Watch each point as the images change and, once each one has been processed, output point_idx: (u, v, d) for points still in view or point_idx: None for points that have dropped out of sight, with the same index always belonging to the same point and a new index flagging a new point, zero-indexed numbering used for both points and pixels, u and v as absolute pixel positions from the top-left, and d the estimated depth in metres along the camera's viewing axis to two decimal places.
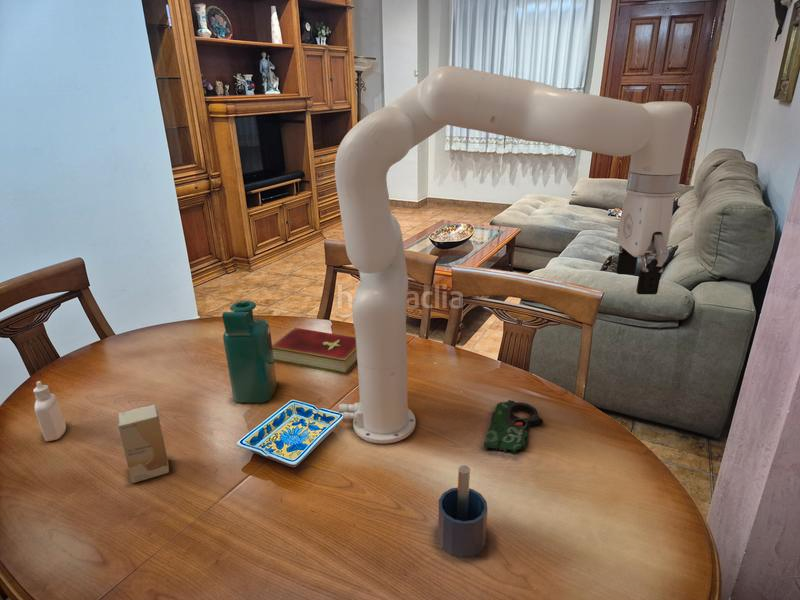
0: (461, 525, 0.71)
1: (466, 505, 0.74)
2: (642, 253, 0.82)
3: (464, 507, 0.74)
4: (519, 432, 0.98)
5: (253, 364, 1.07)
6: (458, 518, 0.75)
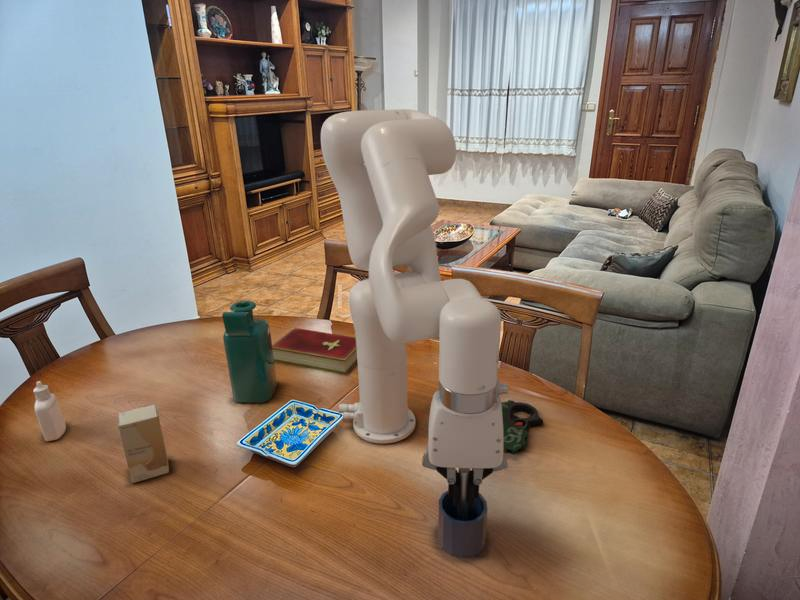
0: (461, 525, 0.71)
1: (466, 505, 0.74)
2: None
3: (464, 507, 0.74)
4: (519, 432, 0.98)
5: (253, 364, 1.07)
6: (458, 518, 0.75)
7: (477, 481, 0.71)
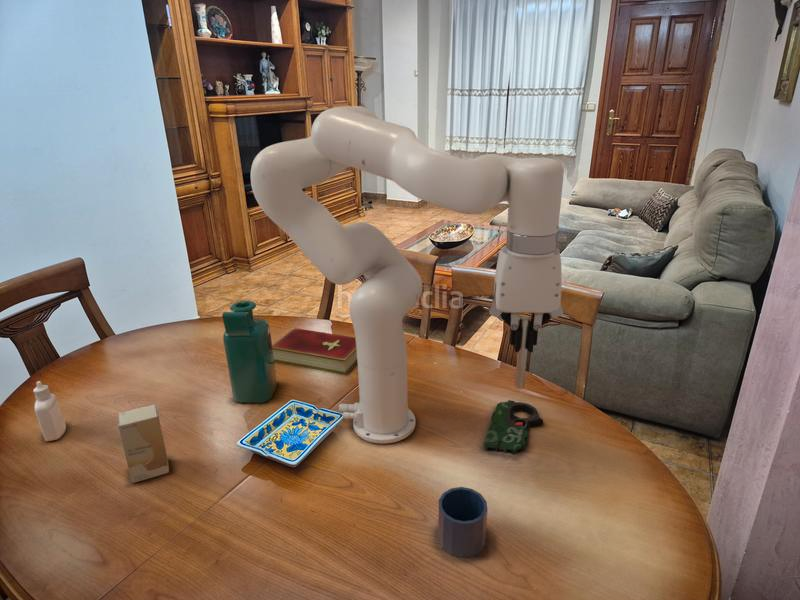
0: (461, 525, 0.71)
1: (525, 352, 0.85)
2: None
3: (524, 354, 0.85)
4: (519, 432, 0.98)
5: (253, 364, 1.07)
6: (518, 366, 0.86)
7: (536, 327, 0.82)
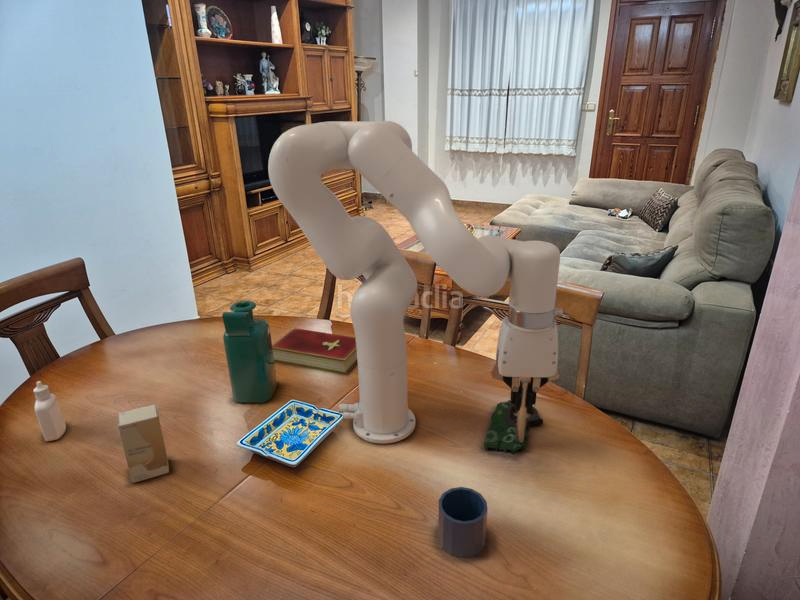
0: (461, 525, 0.71)
1: (525, 411, 0.93)
2: (496, 361, 0.92)
3: (523, 412, 0.93)
4: None
5: (253, 364, 1.07)
6: (518, 422, 0.94)
7: (535, 389, 0.90)
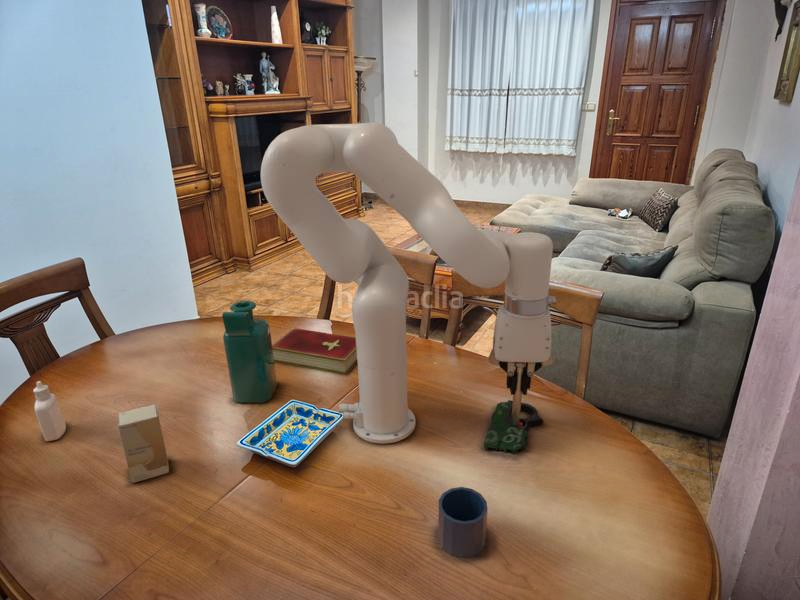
0: (461, 525, 0.71)
1: (520, 394, 0.98)
2: None
3: (519, 396, 0.98)
4: (519, 432, 0.98)
5: (253, 364, 1.07)
6: (513, 406, 0.99)
7: (530, 373, 0.95)
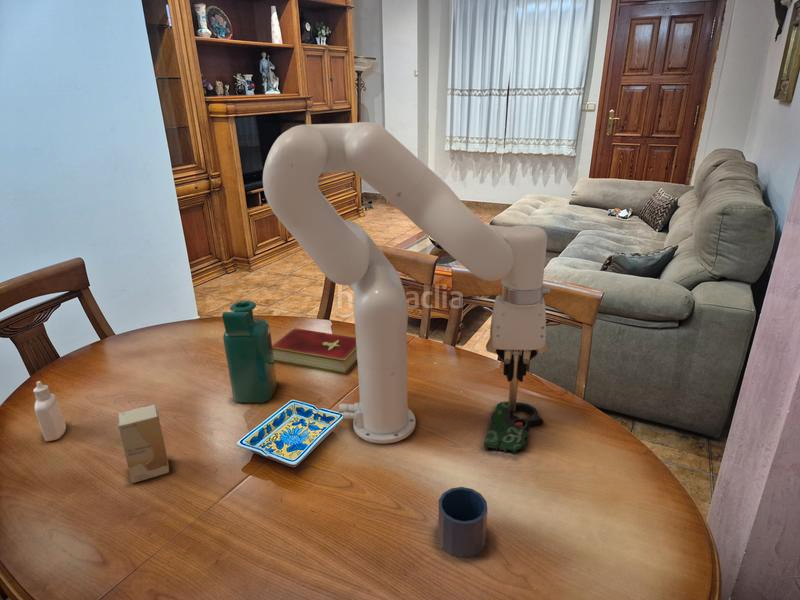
0: (461, 525, 0.71)
1: (516, 381, 1.02)
2: (490, 336, 1.01)
3: (515, 383, 1.02)
4: (519, 432, 0.98)
5: (253, 364, 1.07)
6: (510, 392, 1.03)
7: (526, 361, 0.99)
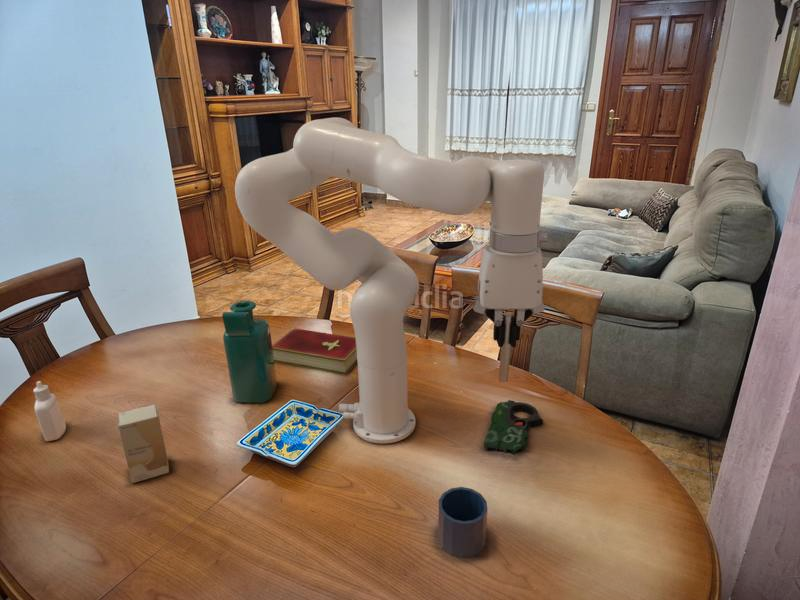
0: (461, 525, 0.71)
1: (509, 347, 0.88)
2: None
3: (507, 349, 0.88)
4: (519, 432, 0.98)
5: (253, 364, 1.07)
6: (501, 360, 0.89)
7: (519, 322, 0.85)
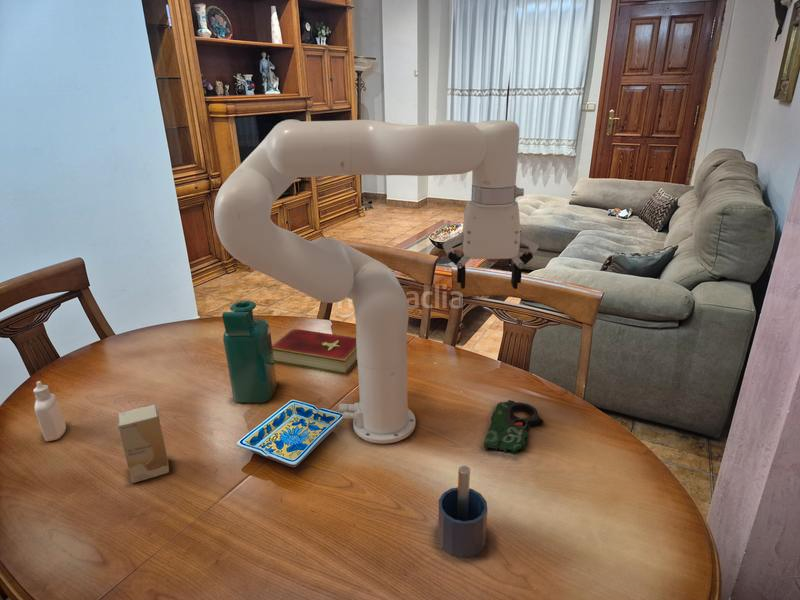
0: (461, 525, 0.71)
1: (466, 505, 0.73)
2: (462, 247, 0.95)
3: (464, 508, 0.73)
4: (519, 432, 0.98)
5: (253, 364, 1.07)
6: (458, 518, 0.75)
7: (520, 265, 0.93)
